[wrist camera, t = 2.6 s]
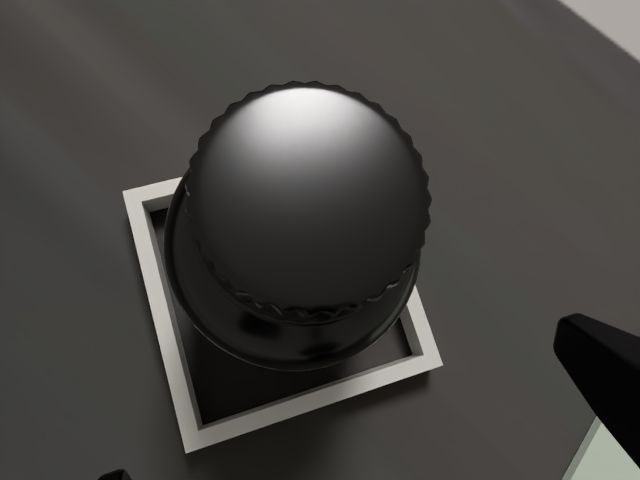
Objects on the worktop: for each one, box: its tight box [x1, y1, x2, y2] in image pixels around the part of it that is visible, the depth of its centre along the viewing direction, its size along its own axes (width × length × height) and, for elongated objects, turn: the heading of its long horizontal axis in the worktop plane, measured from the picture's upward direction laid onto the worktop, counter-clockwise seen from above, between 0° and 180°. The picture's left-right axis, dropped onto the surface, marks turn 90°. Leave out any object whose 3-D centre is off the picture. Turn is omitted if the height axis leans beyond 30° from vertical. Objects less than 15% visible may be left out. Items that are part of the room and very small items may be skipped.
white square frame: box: [123, 177, 443, 453], centre depth 20 cm, size 10×10×2 cm
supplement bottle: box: [163, 81, 432, 372], centre depth 15 cm, size 7×7×12 cm
